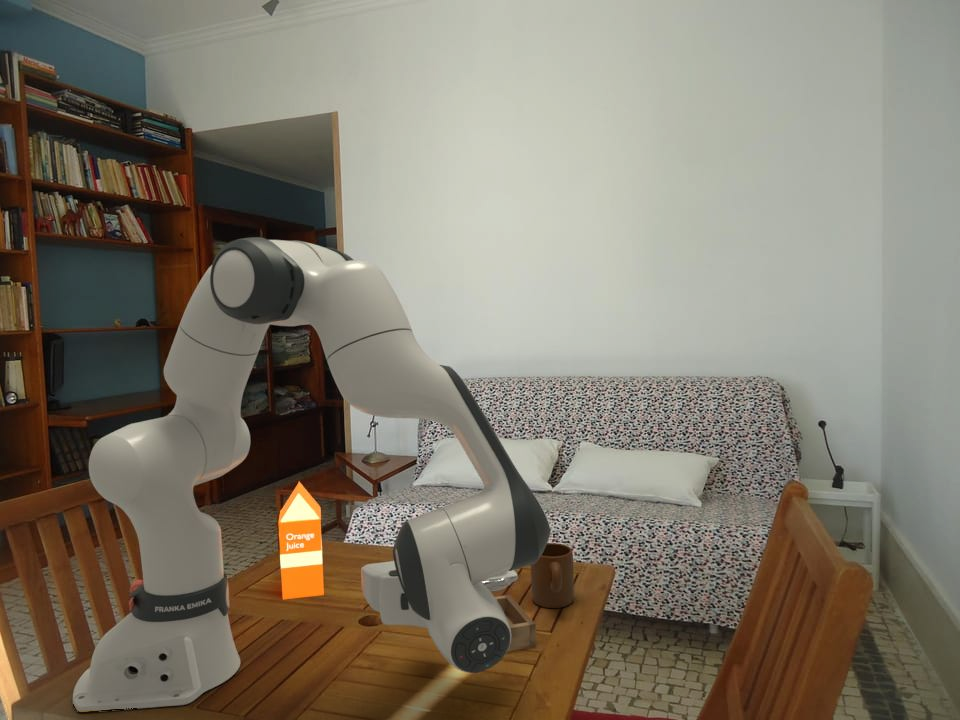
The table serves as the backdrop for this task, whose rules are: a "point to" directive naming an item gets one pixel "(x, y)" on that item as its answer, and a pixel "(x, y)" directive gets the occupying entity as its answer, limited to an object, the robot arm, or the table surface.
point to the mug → (553, 577)
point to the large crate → (518, 624)
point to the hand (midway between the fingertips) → (424, 556)
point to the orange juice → (301, 546)
